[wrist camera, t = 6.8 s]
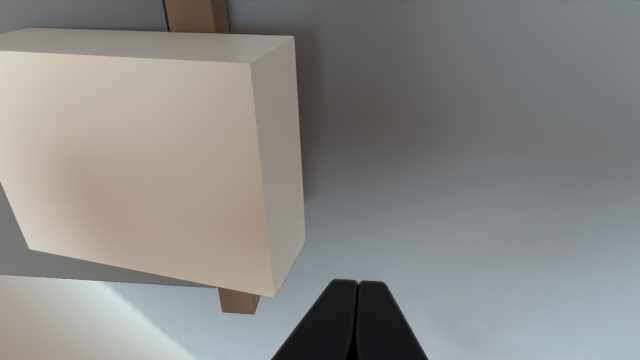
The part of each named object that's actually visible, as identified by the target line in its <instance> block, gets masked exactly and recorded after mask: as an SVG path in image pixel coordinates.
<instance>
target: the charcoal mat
mask: <svg viewBox="0 0 640 360" xmlns="http://www.w3.org/2000/svg"><path fill="white" fill-rule="evenodd" d="M25 28H59V29H91V30H122V31H153V32H171V31H170V26H169V21H168V15H167V10H166V4H165V0H0V34H4V33H8V32H13V31H17V30H21V29H25ZM0 275H13V276H30V277H46V278H62V279H79V280H94V281H110V282H126V283H142V284H158V285H174V286H190V287H206V288H216V287H217V286H212V285H207V284H202V283H197V282H191V281H186V280H181V279H176V278H171V277H166V276H161V275H156V274H151V273H146V272H141V271H136V270H131V269H126V268H121V267H116V266H111V265H106V264H101V263H96V262H91V261H86V260H81V259H76V258H71V257H66V256H61V255H56V254H51V253H46V252H41V251H36V250H31V249H29V247H28V245H27V243H26V240H25V238H24V236H23V233H22V231H21V229H20V226H19V224H18V222H17V219H16V217H15V215H14V212H13V210H12V208H11V205H10V203H9V201H8V198H7V196H6V194H5V191H4V189H3V187H2V184H1V182H0Z"/></svg>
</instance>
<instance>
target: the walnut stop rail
mask: <svg viewBox="0 0 640 360" xmlns="http://www.w3.org/2000/svg"><path fill="white" fill-rule="evenodd" d="M165 4H166V10H167V15H168V21H169V26H170V31H171V32H184V33H216V34H230V29H229V21H228V13H227V5H226V0H165ZM218 291H219V296H220V301H221V307H222V312H226V313H240V314H255V311H256V308H257V305H258V302H259V299H260V296H261V295H257V294H252V293H247V292H242V291H237V290H232V289H227V288H222V287H218Z"/></svg>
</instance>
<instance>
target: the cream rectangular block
mask: <svg viewBox="0 0 640 360" xmlns="http://www.w3.org/2000/svg"><path fill="white" fill-rule="evenodd" d="M0 182H1V184H2V187H3V189H4V191H5V194H6V196H7V198H8V201H9V203H10V205H11V208H12V210H13V212H14V215H15V217H16V219H17V222H18V224H19V226H20V229H21V231H22V233H23V236H24V238H25V240H26V243H27V245H28V247H29V249H31V250H36V251H41V252H46V253H51V254H56V255H61V256H66V257H71V258H76V259H81V260H86V261H91V262H96V263H101V264H106V265H111V266H116V267H121V268H126V269H131V270H136V271H141V272H146V273H151V274H156V275H161V276H166V277H171V278H176V279H181V280H186V281H191V282H197V283H202V284H207V285H212V286H217V287H222V288H227V289H232V290H237V291H242V292H247V293H252V294H257V295H262V296H267V297H272V298H275V297H276V295H277V294H278V292H279V290H280V288H281V286H282V284H283V282H284V281H285V279H286V277H287V275H288V273H289V271H290V270H291V268H292V266H293V264H294V262H295V260H296V258H297V257H298V255H299V253H300V251H301V249H302V247H303V246H304V244H305V242H306V232H305V214H304V197H303V179H302V162H301V144H300V127H299V109H298V92H297V75H296V57H295V40H294V36H278V35H247V34H216V33H184V32H153V31H122V30H91V29H59V28H25V29H21V30H17V31H13V32H8V33H4V34H0Z"/></svg>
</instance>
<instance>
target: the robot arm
mask: <svg viewBox="0 0 640 360" xmlns="http://www.w3.org/2000/svg"><path fill="white" fill-rule="evenodd" d="M271 360H428V358H427V356H426V354H425V352H424V351H423V349H422V347H421V345H420V344H419V342H418V340H417V338H416V336H415V335H414V333H413V331H412V329H411V328H410V326H409V324H408V322H407V320H406V319H405V317H404V315H403V313H402V311H401V310H400V308H399V306H398V304H397V303H396V301H395V299H394V297H393V295H392V294H391V292H390V290H389V288H388V287H387V285H386V284H385V283H384V282H382V281H365V280H363V281H361V282H360V283H359V286H358V282H357V281H356V280H347V279H334V280H332V281H331V282H330V283H329V285H328V286H327V287H326V289H325V290H324V291H323V292H322V294H321V295H320V296H319V298H318V299H317V300H316V302H315V303H314V304H313V306H312V307H311V308H310V309H309V311H308V312H307V313H306V315H305V316H304V317H303V319H302V320H301V321H300V323H299V324H298V325H297V326H296V328H295V329H294V330H293V332H292V333H291V334H290V336H289V337H288V338H287V340H286V341H285V342H284V343H283V345H282V346H281V347H280V349H279V350H278V351H277V353H276V354H275V355H274V357H273V358H272V359H271Z"/></svg>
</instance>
